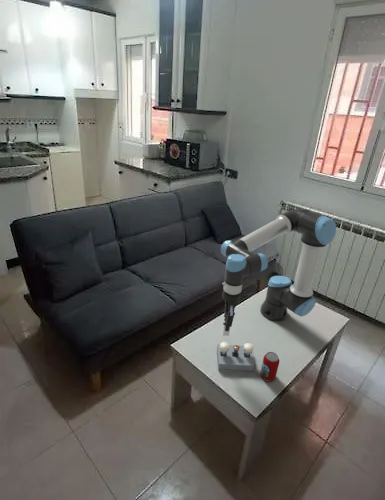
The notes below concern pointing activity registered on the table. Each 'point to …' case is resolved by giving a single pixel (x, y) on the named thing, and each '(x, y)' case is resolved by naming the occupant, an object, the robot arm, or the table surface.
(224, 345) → the knob
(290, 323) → the table surface
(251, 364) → the mount
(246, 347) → the knob
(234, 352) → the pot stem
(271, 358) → the beverage can
